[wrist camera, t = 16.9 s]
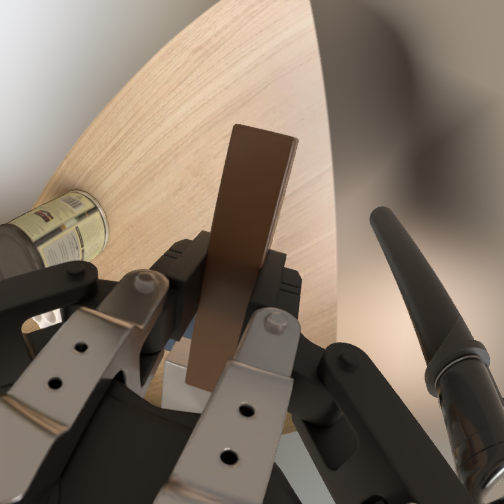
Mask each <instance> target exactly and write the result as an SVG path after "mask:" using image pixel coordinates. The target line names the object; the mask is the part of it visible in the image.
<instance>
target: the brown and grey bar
mask: <svg viewBox="0 0 504 504" xmlns="http://www.w3.org/2000/svg"><path fill="white" fill-rule="evenodd" d="M298 142H299V140H298V139H297V138H295V137H291V136H287V135H283V134H279V133H275V132H271V131H267V130H263V129H259V128H254V127H250V126H245V125H241V124H235V125H234V126H233V130H232V134H231V138H230V143H229V147H228V151H227V156H226V160H225V165H224V169H223V174H222V179H221V183H220V188H219V193H218V197H217V202H216V207H215V212H214V217H213V222H212V227H211V232H210V237H209V242H208V248H207V253H208V254H207V259H206V264H205V270H204V275H203V280H202V286H201V291H200V297H199V303H198V308H197V312H196V314H195V320H194V326H193V333H192V339H188V338H185V337H182V338H181V340H180V342H178V341H176V343H175V344H174V346H173V347H172V349H171V350H170V352H169V354H168V355H167V357H166V358H165V361H164V374H163V388H162V404H161V408H165V409H171V410H178V411H185V412H193V413H202V412H203V410H204V408H205V406H206V404H207V402H208V400H209V398H210V395H211V393H212V391H213V389H214V387H215V385H216V383H217V381H218V379H219V377H220V375H221V373H222V371H223V369H224V366H225V364H226V362H227V361H228V359H229V358H232V357H233V355H234V353H235V351H236V348H237V344H238V340H239V337H240V333H241V329H242V325H243V322H244V318H245V314H246V310H247V307H248V303H249V300H250V297H251V294H252V291H253V289H254V286H255V283H256V280H257V277H258V275H259V272H260V269H261V268H262V267H263V265H264V262H265V259H266V256H267V253H268V250H269V249H270V247H271V244H272V240H273V236H274V232H275V229H276V225H277V221H278V218H279V214H280V210H281V207H282V203H283V199H284V195H285V192H286V188H287V184H288V180H289V176H290V173H291V169H292V165H293V161H294V157H295V154H296V150H297V146H298Z"/></svg>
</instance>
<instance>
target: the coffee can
mask: <svg viewBox="0 0 504 504" xmlns="http://www.w3.org/2000/svg"><path fill="white" fill-rule="evenodd" d="M108 237H109V228H108V222H107V219H106V216H105V213H104V211H103V209H102V208H101V206H100V204H99V203H98V202H97V201H96V200H95V198H93V197H92V196H91V195H89V194H88V193H86V192H83V191H79V190H73V191H70V192H68V193H66V194H64V195H62V196H60V197H58V198H56V199H54V200H51V201H49V202H47V203H45V204H43V205H41V206H39V207H37V208H35V209H33V210H31V211H29V212H27V213H25V214H23V215H21V216H19V217H17V218H15V219H13V220H11V221H10V222H8V223H6V224H2V225H0V280H4V279H7V278H10V277H14V276H17V275H21V274H24V273H28V272H32V271H35V270H39V269H42V268H46V267H50V266H53V265H57V264H61V263H64V262H68V261H74V260H82V261H87V262H89V261H90V260H92V259H93V258H94V257H95V256H97V255H99V254H100V253H101V252H102V251H103V250H104V249H105V247H106V245H107V242H108Z"/></svg>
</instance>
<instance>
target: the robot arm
mask: <svg viewBox="0 0 504 504" xmlns="http://www.w3.org/2000/svg"><path fill="white" fill-rule="evenodd" d="M209 237H210V232H207V231H203V230H202V231H201V232H200V233H199V234H198V236H197V237H196V238H195V239H194V240H193V241H192V240H188V239H184V240H181V241H178V242H176V243H174V244H173V245H172V246H171V247H170V248H169V250H167V251H166V252H165V253H164V255H162V256H161V257H160V258H159V259H158V260H157V261H156V262H155V263H154V264H153V265H152V267H151V268H150V269H149V270H148V269H139V270H134V271H131V272H129V273H127V274H126V275H125V276H124V277H123V278H122V279H121V280H120V281H119V282H117V281H109V280H101V279H98V270H97V268H96V266H95V265H93V264H92V263H90V262H87V261H82V260H74V261H68V262H64V263H61V264H57V265H53V266H50V267H46V268H42V269H39V270H35V271H32V272H28V273H24V274H21V275H17V276H14V277H10V278H7V279H4V280H0V504H302V503H301V501H300V500H299V498H298V496H297V495H296V493H295V492H294V490H293V488H292V487H291V485H290V484H289V482H288V480H287V479H286V477H285V475H284V474H283V472H282V471H281V469H280V468H279V467H278V465H277V464H276V463H275V462H274V460H275V457H276V453H277V449H278V445H279V441H280V437H281V434H282V430H283V426H284V422H285V417H286V413H287V412H289V413H291V414H292V421H293V423H294V425H295V427H296V429H297V431H298V433H299V435H300V437H301V439H302V441H303V443H304V445H305V447H306V449H307V451H308V452H309V454H310V456H311V458H312V460H313V462H314V464H315V466H316V468H317V470H318V472H319V473H320V475H321V477H322V479H323V481H324V483H325V485H326V487H327V489H328V490H329V492H330V494H331V496H332V498H333V500H334V501H335V503H336V504H485V503H484V501H485V499H486V497H487V496H488V494H489V493H490V491H491V490H492V489H493V488H494V487H495V486H496V485H497V484H498V483H499V482H500V481H501V480H502V479H503V478H504V398H502V397H501V394H500V392H499V390H498V387H497V385H496V383H495V381H494V378H493V376H492V374H491V372H490V370H489V368H488V366H487V364H485V363H484V361H483V359H482V358H481V357H480V356H479V355H476V354H466V355H463V356H460V357H457V358H455V359H454V360H452V361H450V362H449V363H447V364H446V365H445V366H444V367H443V368H442V369H441V370H440V371H439V373H438V374H437V376H436V378H435V381H434V387H435V390H436V392H437V395H438V403H439V407H440V406H441V410H442V413H443V417H444V421H445V425H446V429H447V433H448V437H449V442H450V446H451V451H452V455H453V460H454V465H455V470H456V474H455V472H454V471H453V470H452V468H451V467H450V465H449V464H448V463H447V461H446V460H445V459H444V457H443V456H442V454H441V453H440V451H439V450H438V449H437V447H436V446H435V445H434V443H433V442H432V440H431V439H430V438H429V436H428V435H427V434H426V432H425V431H424V430H423V428H422V427H421V425H420V424H419V423H418V421H417V420H416V419H415V417H414V416H413V415H412V413H411V412H410V411H409V409H408V408H407V407H406V405H405V404H404V403H403V401H402V400H401V399H400V397H399V396H398V395H397V393H396V392H395V391H394V389H393V388H392V387H391V385H390V384H389V383H388V381H387V380H386V379H385V377H384V376H383V375H382V374H381V372H380V371H379V370H378V368H377V367H376V366H375V364H374V363H373V362H372V360H371V359H370V358H369V357H368V355H367V354H366V353H365V352H364V351H362V350H361V349H360V348H358V347H356V346H354V345H351V344H348V343H341V342H339V343H333V344H331V345H329V346H328V347H327V348H326V350H325V349H323V348H321V347H319V346H317V345H316V344H314V343H312V342H310V341H309V340H308V339H307V338H305V337H304V336H303V334H302V333H301V326H300V324H299V322H298V312H299V303H300V294H301V284H302V279H301V277H300V275H299V273H298V271H296V270H293V269H289V268H286V267H284V265H285V260H286V255H287V254H285V253H281V252H278V251H274V250H271V249H269V250H268V253H267V256H266V259H265V262H264V265H263V267H262V268H261V269H260V272H259V275H258V277H257V280H256V283H255V286H254V289H253V291H252V294H251V297H250V300H249V303H248V307H247V310H246V314H245V318H244V322H243V325H242V329H241V333H240V337H239V340H238V344H237V348H236V351H235V353H234V355H233V357H232V358H229V359H228V361H227V362H226V364H225V366H224V369H223V371H222V373H221V375H220V377H219V379H218V381H217V383H216V385H215V387H214V389H213V391H212V393H211V395H210V398H209V400H208V402H207V404H206V406H205V408H204V410H203V412H202V413H193V412H185V411H178V410H171V409H165V408H159V407H156V406H154V405H152V404H150V403H149V402H148V401H146V400H145V399H144V396H145V393H146V391H147V389H148V387H149V385H150V383H151V381H152V379H153V376H154V374H155V372H156V370H157V368H158V366H159V364H160V362H161V360H162V358H163V355H164V351H165V345H166V344H167V342H168V340H169V339H173V340H175V341H178V342H180V340H181V338H182V336H183V335H184V333H185V331H186V329H187V328H188V326H189V324H190V322H191V321H192V319H193V317H194V315H195V314H196V312H197V308H198V303H199V297H200V291H201V286H202V280H203V275H204V270H205V264H206V259H207V254H208V253H207V248H208V242H209ZM56 309H60V314H61V320H62V322H60V323H57V324H54V325H51V326H48V327H45V328H42V329H40V330H37V331H34V332H31V333H27V334H26V333H22V331H21V327H22V324H23V323H24V322H25V321H26V320H27V319H29V318H32V317H35V316H38V315H41V314H44V313H47V312H50V311H53V310H56ZM488 504H504V496H502V497H500V498H498V499H496V500H494V501H492V502H490V503H488Z"/></svg>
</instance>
